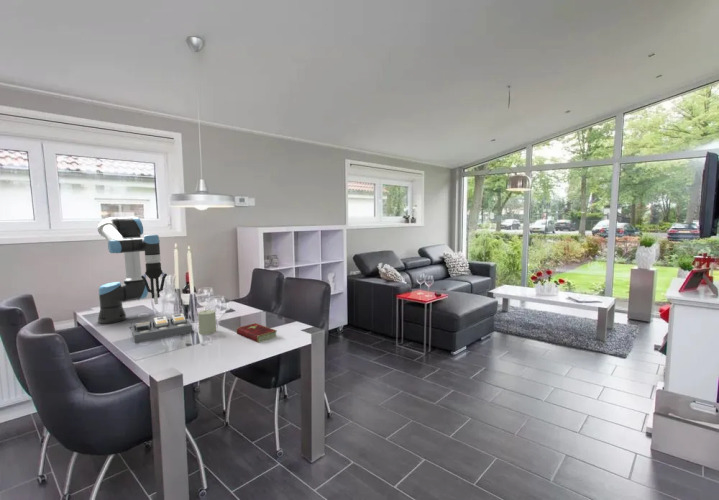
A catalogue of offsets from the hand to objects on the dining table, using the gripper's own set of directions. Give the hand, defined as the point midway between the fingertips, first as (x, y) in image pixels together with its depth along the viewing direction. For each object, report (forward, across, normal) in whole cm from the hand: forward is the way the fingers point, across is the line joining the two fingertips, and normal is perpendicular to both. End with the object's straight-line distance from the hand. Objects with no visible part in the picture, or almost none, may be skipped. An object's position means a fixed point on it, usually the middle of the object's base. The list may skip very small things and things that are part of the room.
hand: (156, 303), depth 209 cm
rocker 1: (+10, -8, -3) cm, 13 cm away
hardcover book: (+18, +43, -41) cm, 62 cm away
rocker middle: (+10, +1, -3) cm, 10 cm away
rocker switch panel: (+16, +1, -6) cm, 17 cm away
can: (+17, +23, -18) cm, 33 cm away
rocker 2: (+10, +10, -3) cm, 15 cm away
